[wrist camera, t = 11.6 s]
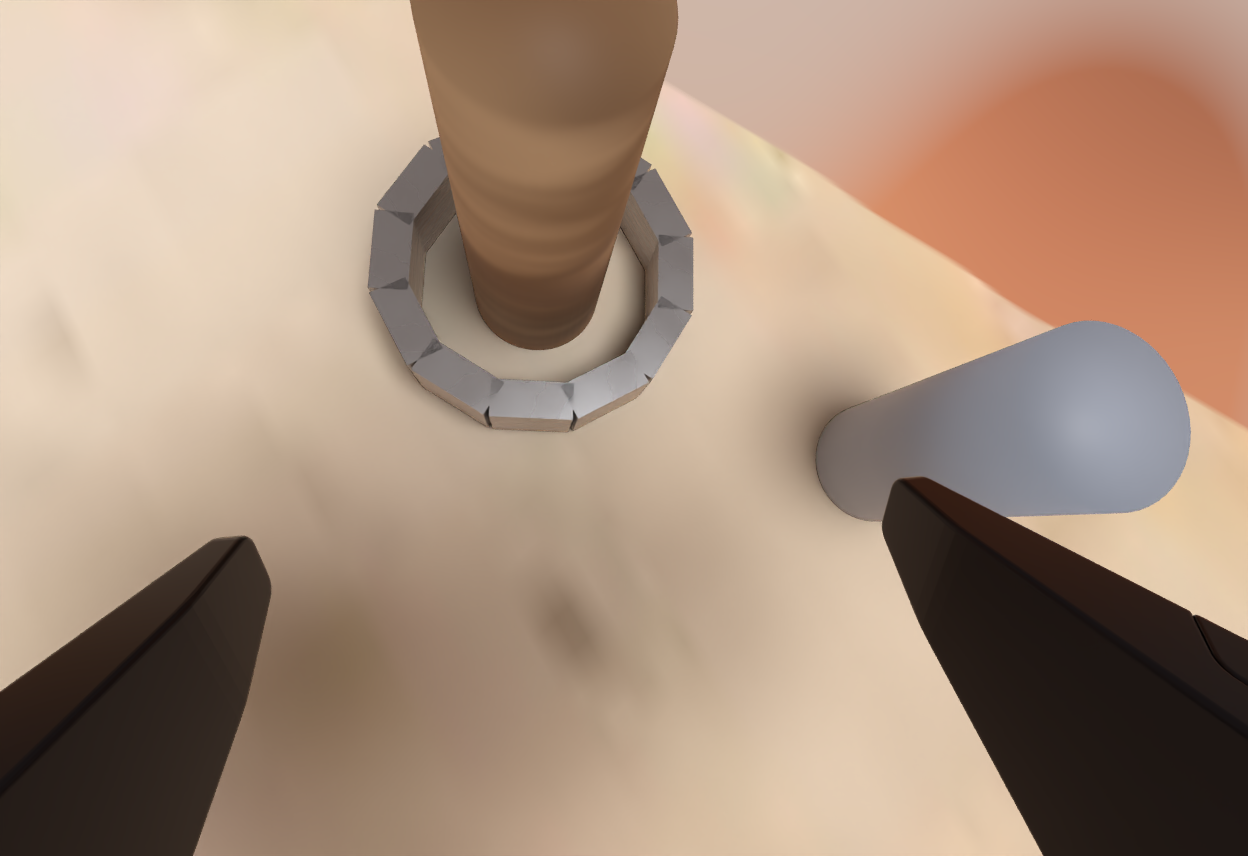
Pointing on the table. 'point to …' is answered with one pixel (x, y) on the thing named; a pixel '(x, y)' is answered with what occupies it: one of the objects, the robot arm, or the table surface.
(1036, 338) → the slate-blue peg
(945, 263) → the table surface
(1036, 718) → the robot arm
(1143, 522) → the table surface
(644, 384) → the steel ring
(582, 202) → the walnut peg
